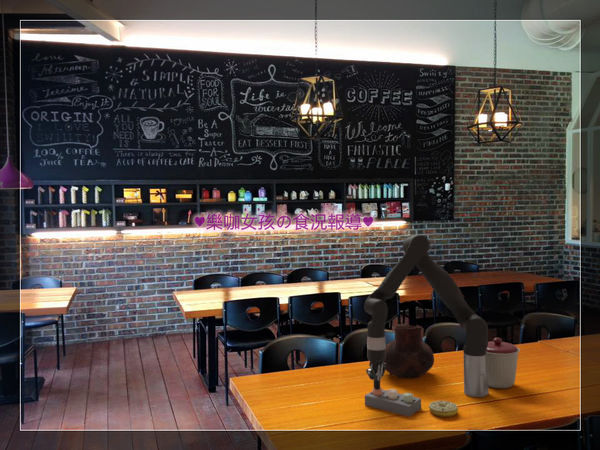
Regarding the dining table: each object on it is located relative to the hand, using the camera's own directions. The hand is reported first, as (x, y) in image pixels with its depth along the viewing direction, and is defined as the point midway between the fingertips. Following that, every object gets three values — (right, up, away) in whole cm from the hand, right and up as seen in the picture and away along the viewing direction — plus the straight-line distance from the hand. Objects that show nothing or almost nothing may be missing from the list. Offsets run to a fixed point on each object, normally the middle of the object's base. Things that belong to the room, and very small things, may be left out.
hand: (377, 388), depth 216 cm
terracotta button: (0, -4, 0) cm, 4 cm away
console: (+6, -6, -4) cm, 9 cm away
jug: (+19, -4, +34) cm, 39 cm away
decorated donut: (+24, -6, -12) cm, 27 cm away
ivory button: (+6, -4, -4) cm, 8 cm away
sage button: (+11, -4, -9) cm, 15 cm away
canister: (+56, -4, +17) cm, 59 cm away
